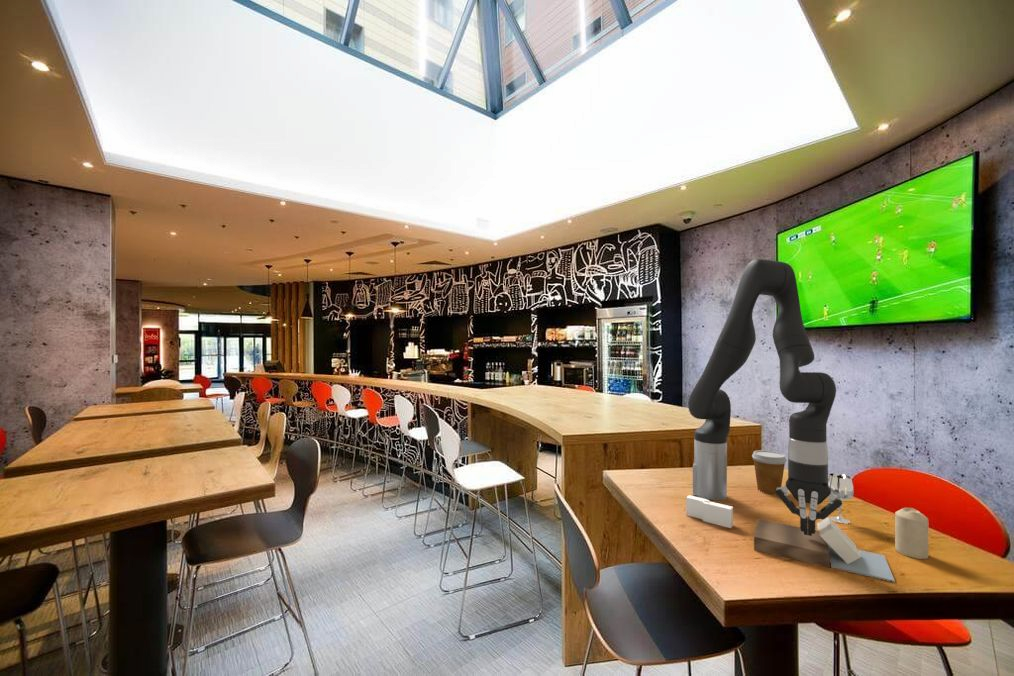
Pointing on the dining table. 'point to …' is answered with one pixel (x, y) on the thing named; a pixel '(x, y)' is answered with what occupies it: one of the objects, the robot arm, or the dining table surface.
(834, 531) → the white block
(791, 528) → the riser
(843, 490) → the wineglass
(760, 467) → the disposable coffee cup
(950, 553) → the dining table surface
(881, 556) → the mat
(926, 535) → the candle
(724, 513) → the napkin holder
